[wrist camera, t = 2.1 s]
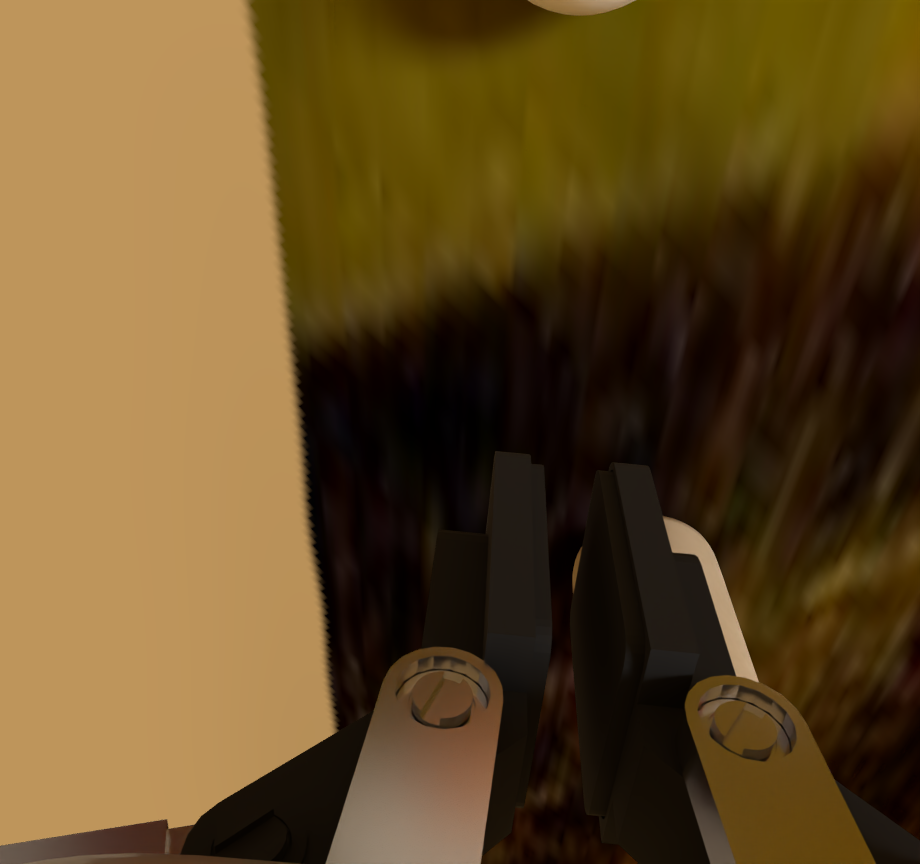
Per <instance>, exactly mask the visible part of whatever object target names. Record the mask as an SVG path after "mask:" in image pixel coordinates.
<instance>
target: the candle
mask: <svg viewBox="0 0 920 864" xmlns="http://www.w3.org/2000/svg"><path fill="white" fill-rule="evenodd" d="M663 519H664V523H665V527H666V531H667V534H668V538H669V542H670V546H671V549H672V552H674V553H684V554H694V555H696V556H697V557H698V558H699V560H700V562H701V565H702V568H703V571H704V574H705V578H706V581H707V584H708V587H709V590H710V594H711V597H712V600H713V603H714V606H715V610H716V613H717V616H718V619H719V622H720V626H721V629H722V632H723V635H724V638H725V642H726V645H727V648H728V651H729V654H730V658H731V661H732V664H733V667H734V670H735V674H736V676H737V677H744V678H748V679H750V680H753V681H756V682H758V679H757V676H756V673H755V670H754V667H753V664H752V661H751V658H750V655H749V653H748V650H747V647H746V644H745V641H744V638H743V635H742V632H741V629H740V626H739V623H738V620H737V617H736V614H735V611H734V609H733V606H732V603H731V600H730V597H729V594H728V591H727V588H726V585H725V582H724V579H723V576H722V573H721V571H720V568H719V565H718V563H717V560H716V558H715V555H714V553H713V551H712V549H711V547H710V546H709V544H708V543H707V541H706V540H705V539H704V538H703V536H702V535H701V534H700V533H698V532H697V531H696V530H695V529H693V528H692V527H690V526H689V525H687V524H685V523H683V522H681V521H679V520H676V519H673V518H669V517H664V516H663ZM581 550H582V547H581V549H580V551H579V553H578V554H577V557H576V560H575V564H574V569H573V580H572V582H573V593H574V588H575V583H576V577H577V572H578V566H579V561H580V555H581Z"/></svg>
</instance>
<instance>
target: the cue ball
mask: <svg viewBox="0 0 920 864" xmlns="http://www.w3.org/2000/svg"><path fill="white" fill-rule="evenodd" d="M528 1H529V2H531V3H533V4H534V5H537V6H539V7H541V8H544V9H546V10H549V11H553V12H556V13H560V14H567V15H577V16H578V15H594V14H599V13H605V12H608V11H611V10H614V9H617V8H620V7H623V6H625V5H627V4H629V3H631V2H633V1H635V0H528Z"/></svg>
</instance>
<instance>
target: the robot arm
mask: <svg viewBox="0 0 920 864" xmlns="http://www.w3.org/2000/svg"><path fill="white" fill-rule="evenodd" d="M570 634H571V646H572V658H573V671H574V683H575V695H576V708H577V720H578V733H579V745H580V757H581V770H582V782H583V794H584V806H585V812H586V814H587V815H594V816H599V822H600V832H601V842H602V843H608V844H618V845H620V846H621V847H622V848H623V849H624V850H625V851H626V852H627V853H628V854H629V855H630V856H631V857H633V858H634V859H635V860H636V861H637V862H638V864H920V840H918V839H917V838H915V837H914V836H913V835H911V834H910V833H908V832H907V831H906V830H904V829H903V828H901V827H900V826H899V825H897V824H896V823H894V822H893V821H892V820H890V819H889V818H887V817H886V816H885V815H883V814H882V813H880V812H879V811H878V810H876V809H875V808H873V807H872V806H871V805H869V804H868V803H866V802H865V801H864V800H862V799H861V798H859V797H858V796H857V795H855V794H854V793H852V792H851V791H850V790H848V789H847V788H845V787H844V786H843V785H841V784H840V783H838V782H837V781H836V780H834V778H833V776H832V774H831V772H830V770H829V768H828V766H827V764H826V762H825V760H824V758H823V756H822V754H821V752H820V750H819V748H818V746H817V744H816V742H815V740H814V738H813V736H812V734H811V732H810V730H809V728H808V726H807V723H806V722H805V720H804V719H803V717H802V716H801V715H800V713H799V712H798V710H797V709H796V707H794V706H793V705H792V704H791V703H790V702H789V701H788V700H787V699H786V698H785V697H783V696H782V695H781V694H779V693H778V692H776V691H774V690H773V689H771V688H769V687H768V686H766V685H764V684H762V683H759V682H756V681H753V680H750V679H748V678H744V677H737V676H736V674H735V670H734V667H733V664H732V661H731V658H730V654H729V651H728V648H727V645H726V642H725V638H724V635H723V632H722V629H721V626H720V622H719V619H718V616H717V613H716V610H715V606H714V603H713V600H712V597H711V594H710V590H709V587H708V584H707V581H706V578H705V574H704V571H703V568H702V565H701V562H700V560H699V558H698V557H697V556H696V555H694V554H684V553H674V552H672V549H671V546H670V542H669V538H668V534H667V531H666V527H665V523H664V519H663V516H662V512H661V508H660V505H659V501H658V497H657V493H656V490H655V486H654V482H653V478H652V475H651V471H650V468H649V466H644V465H633V464H623V463H613V462H612V463H611V465H610V468H609V471H599V470H598V471H597V472H596V475H595V480H594V485H593V491H592V496H591V501H590V507H589V512H588V518H587V523H586V528H585V534H584V539H583V545H582V550H581V555H580V561H579V566H578V572H577V577H576V583H575V588H574V593H573V599H572V604H571V613H570ZM551 644H552V610H551V591H550V573H549V554H548V536H547V517H546V499H545V480H544V466H543V465H536V464H531V455H529V454H519V453H508V452H498V451H495V457H494V466H493V475H492V484H491V492H490V501H489V510H488V519H487V528H486V534H479V533H469V532H459V531H448V530H438V535H437V541H436V548H435V555H434V562H433V570H432V577H431V584H430V591H429V598H428V605H427V612H426V619H425V626H424V633H423V640H422V647H421V649H419V650H416V651H414V652H412V653H410V654H407V655H405V656H403V657H402V658H400V659H399V660H398V661H397V662H396V663H395V664H394V665H393V666H391V667H390V669H389V671H388V673H387V675H386V677H385V678H384V680H383V684H382V687H381V690H380V693H379V696H378V699H377V703H376V706H375V709H374V711H372V712H370V713H369V714H367V715H365V716H364V717H362V718H360V719H359V720H357V721H355V722H354V723H352V724H350V725H349V726H347V727H345V728H343V729H342V730H340V731H338V732H337V733H335V734H333V735H332V736H330V737H328V738H327V739H325V740H323V741H322V742H320V743H318V744H317V745H315V746H313V747H312V748H310V749H308V750H307V751H305V752H303V753H301V754H300V755H298V756H296V757H295V758H293V759H291V760H290V761H288V762H286V763H285V764H283V765H281V766H280V767H278V768H276V769H275V770H273V771H272V772H270V773H268V774H266V775H264V776H263V777H261V778H259V779H258V780H256V781H255V782H253V783H251V784H249V785H248V786H246V787H244V788H243V789H241V790H240V791H238V792H236V793H234V794H233V795H231V796H229V797H227V798H226V799H224V800H222V801H221V802H219V803H218V804H216V805H215V806H214V807H213V808H212V809H210V810H209V811H207V812H206V813H205V814H204V815H202V816H201V817H200V819H199V820H198V821H197V823H196V824H195V825H190V826H184V827H178V828H171V829H168V823H167V820H160V821H153V822H147V823H140V824H134V825H128V826H121V827H115V828H109V829H103V830H96V831H91V832H84V833H77V834H71V835H65V836H59V837H52V838H46V839H40V840H33V841H27V842H21V843H14V844H8V845H2V846H0V864H481V857H482V855H484V854H485V853H486V852H487V851H489V850H490V849H491V848H492V847H494V846H495V845H496V844H497V843H499V842H500V841H501V840H502V839H503V838H505V837H506V836H507V835H508V834H510V833H511V829H512V824H513V818H514V812H515V807H517V808H523V807H524V803H525V798H526V792H527V786H528V780H529V775H530V769H531V763H532V758H533V752H534V746H535V741H536V735H537V729H538V723H539V718H540V712H541V706H542V701H543V695H544V689H545V684H546V678H547V672H548V666H549V661H550V654H551Z"/></svg>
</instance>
